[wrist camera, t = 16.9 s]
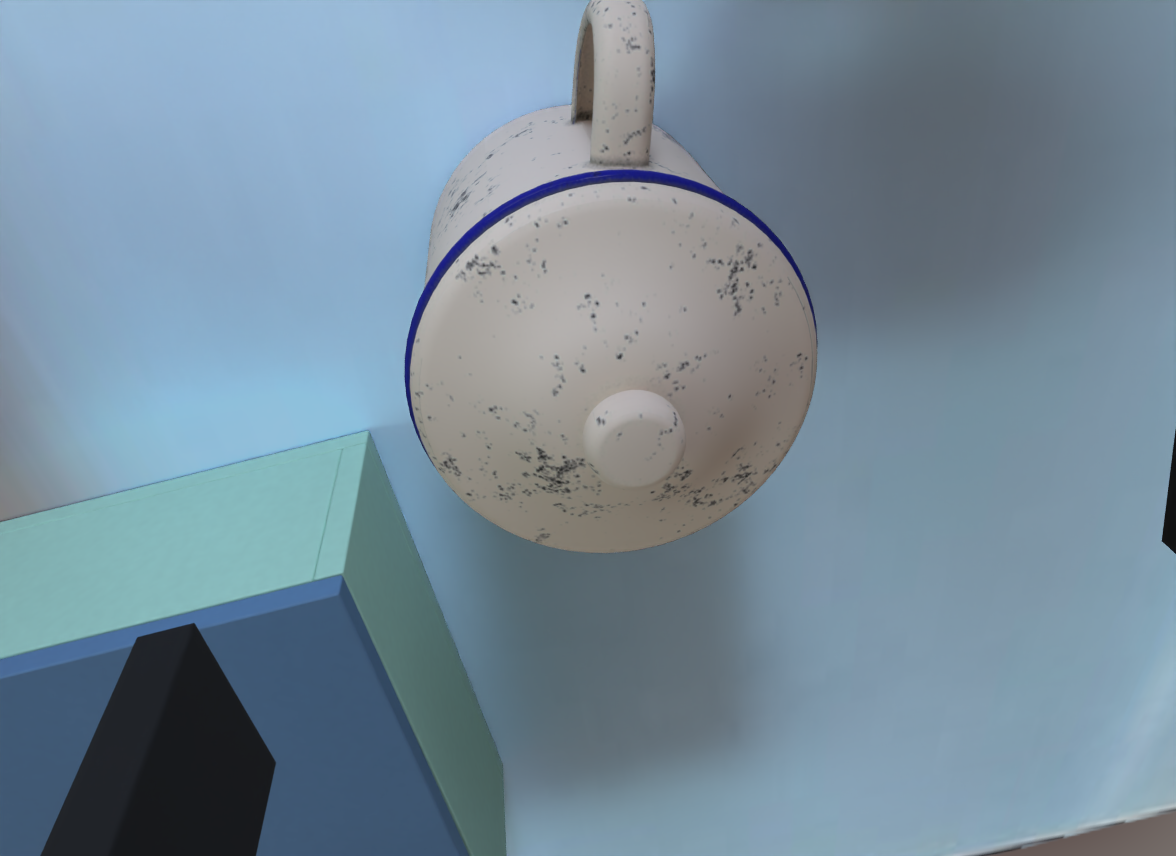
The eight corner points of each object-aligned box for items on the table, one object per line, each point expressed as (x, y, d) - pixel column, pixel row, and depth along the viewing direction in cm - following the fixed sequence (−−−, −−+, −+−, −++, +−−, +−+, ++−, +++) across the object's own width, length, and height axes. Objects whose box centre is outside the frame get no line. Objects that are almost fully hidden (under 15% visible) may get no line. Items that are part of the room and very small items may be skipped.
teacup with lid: (706, 387, 30) (824, 628, 20) (425, 387, 29) (404, 643, 19) (760, -16, 25) (963, 44, 15) (411, -36, 23) (370, 16, 13)
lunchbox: (503, 764, 38) (510, 935, 32) (115, 859, 38) (46, 1048, 32) (368, 429, 30) (342, 571, 24) (-127, 552, 30) (-285, 727, 24)
